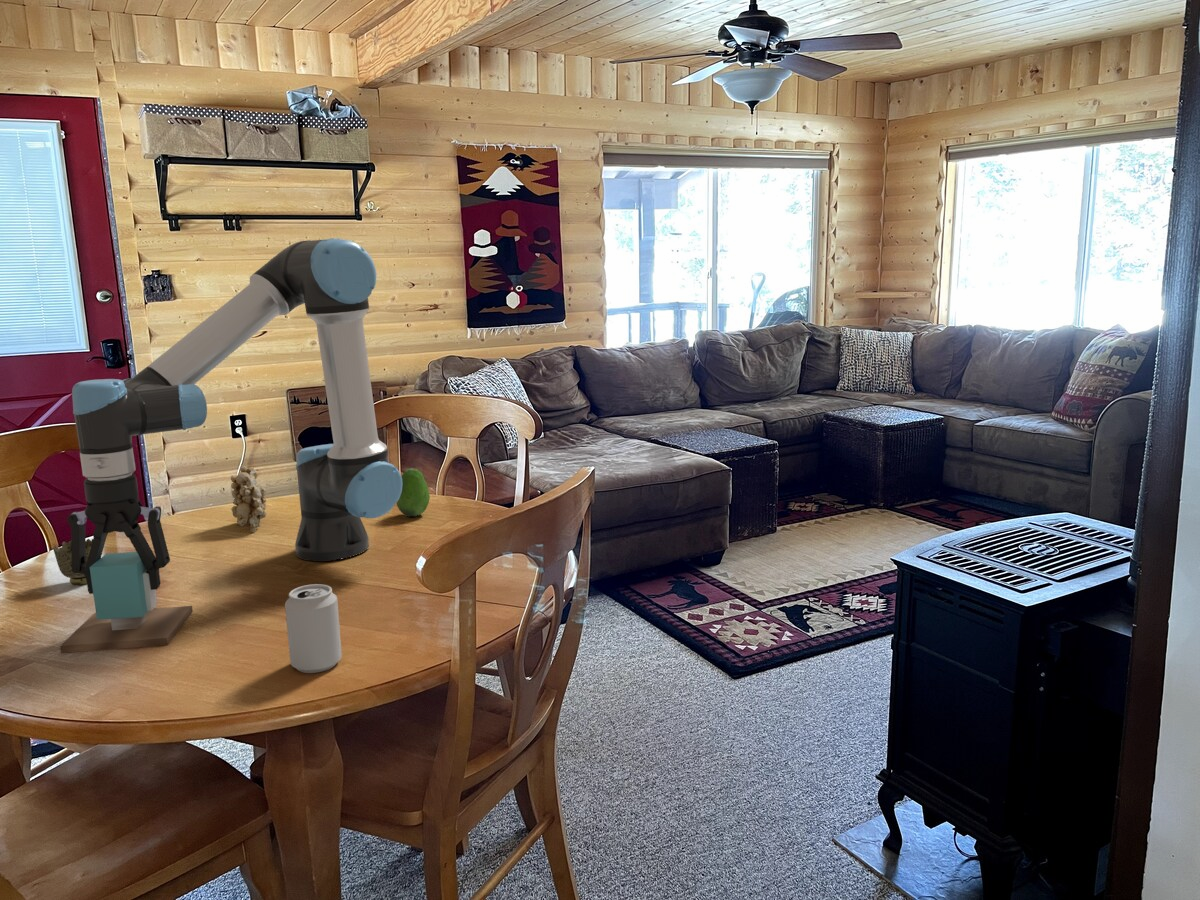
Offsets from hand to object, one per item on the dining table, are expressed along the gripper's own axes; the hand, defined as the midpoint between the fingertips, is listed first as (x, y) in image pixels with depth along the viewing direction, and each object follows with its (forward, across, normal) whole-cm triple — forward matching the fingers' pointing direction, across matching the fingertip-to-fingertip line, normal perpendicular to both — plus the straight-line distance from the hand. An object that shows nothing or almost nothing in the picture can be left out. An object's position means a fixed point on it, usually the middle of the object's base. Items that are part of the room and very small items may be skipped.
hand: (127, 609), depth 146 cm
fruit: (+4, +44, +62) cm, 76 cm away
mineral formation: (+4, +7, +60) cm, 61 cm away
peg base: (+4, 0, 0) cm, 4 cm away
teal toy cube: (0, 0, 0) cm, 0 cm away
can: (+4, +33, -19) cm, 38 cm away
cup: (+4, -18, +27) cm, 33 cm away
